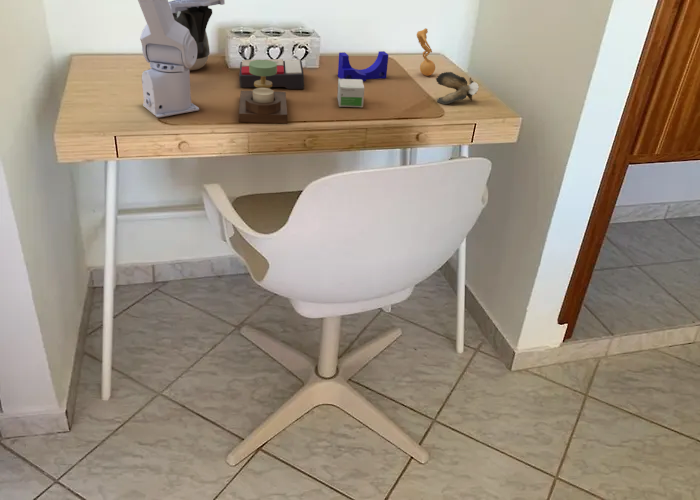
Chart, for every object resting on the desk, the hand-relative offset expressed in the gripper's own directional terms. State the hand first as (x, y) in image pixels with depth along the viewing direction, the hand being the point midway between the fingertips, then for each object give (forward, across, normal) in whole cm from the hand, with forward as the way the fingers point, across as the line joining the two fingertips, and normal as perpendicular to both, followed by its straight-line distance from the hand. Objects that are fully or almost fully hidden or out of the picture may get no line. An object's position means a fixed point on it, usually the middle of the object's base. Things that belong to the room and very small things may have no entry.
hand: (198, 41), depth 151 cm
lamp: (+6, +4, -17) cm, 19 cm away
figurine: (+11, +50, -28) cm, 58 cm away
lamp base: (+10, 0, -21) cm, 23 cm away
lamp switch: (+7, -2, -23) cm, 24 cm away
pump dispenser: (+11, +6, +13) cm, 18 cm away
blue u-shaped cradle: (+11, +35, -20) cm, 42 cm away
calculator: (+11, +15, -8) cm, 20 cm away
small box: (+11, +19, -30) cm, 37 cm away
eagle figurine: (+11, +40, -45) cm, 61 cm away
